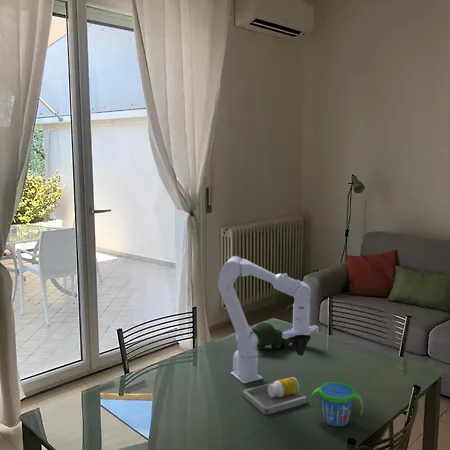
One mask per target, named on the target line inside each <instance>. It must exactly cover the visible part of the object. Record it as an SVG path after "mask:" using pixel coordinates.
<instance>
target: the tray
mask: <svg viewBox="0 0 450 450" xmlns="http://www.w3.org/2000/svg"><path fill="white" fill-rule="evenodd" d="M274 382H275V381H273V382H268V383H265V384H262V385H258V386H253V387H249V388H246V389H243V390H241V397H242V398H243V399H244V400H246V401H247V402H249V403H250V404H251V405H252V406H253V407H254V408H255V409H257V410H258V411H260V412H261V413H262V414H263V415H264V416H269V415H271V414H275V413H279V412H281V411H285V410H288V409H291V408H294V407H299V406H302V405H304V404H307V398H308V397H307V396H304V395H303V396H299V395H297V393H295V394H292V395H288V396H284V397H280V398H279V397H277V396H275V397H270V395H269V394H268V385H271V384H273V383H274Z"/></svg>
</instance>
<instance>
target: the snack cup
mask: <svg viewBox="0 0 450 450" xmlns="http://www.w3.org/2000/svg"><path fill="white" fill-rule="evenodd" d="M316 393H318V394H319V397H320V401H321V408H322V417H323V421H324V422H325V423H327V425H328V426H331V427H340V428H342V427H343V426H346V425H347V424H349V422H350V417H351V412H352V407H353V401H354V399H357V400H358V401H359V403H360V412H359V414H360V416H362V415H363V411H364V401H363V399H362V397H361V395H360V394H359V393H357V392H356V391H355V389H354V388H353V387H352V386H351V385H350V384H349V385H348V384H345V383H342V382H338V381H337V382H335V381H334V382H333V381H332V382H326V383H323V384H322V385H320V387H316V388H315V389H314V390H313V392H312V394H311V396H310V401H309V402H310V408H313V407H314V399H313V397H314V395H315V394H316Z"/></svg>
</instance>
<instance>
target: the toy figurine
mask: <svg viewBox="0 0 450 450" xmlns="http://www.w3.org/2000/svg"><path fill="white" fill-rule="evenodd" d="M291 310H292V311H293V304H290V305H288V306H287V307H286V309H285V311H286V312H288V311H291ZM291 328H293V324H292V326H291V327H290V329H291ZM252 331H253V332H254V333H255V334H256V335H257V337H258V344H257V346H256V348H257V349H258V350H260V351H263V350H264V349H265V348H266V347H267V346H270V345H271V346H273V348H274V349H275V350H279V349H280V348H281V347H284V349H285V350H286V349H289V347H290V344H292V345H294V346H295V344H294V342H293V340H292V338H291V337H289V338H288V339H284V338H282V332H285V331H286V330H280V329H278V328H275V327H274V326H273V325H272V324H271V323H270V322H269V323H268V322H265V321H264V322H260V323H258V324H257V325H256V326H255V327H253V328H252Z"/></svg>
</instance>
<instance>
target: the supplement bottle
mask: <svg viewBox="0 0 450 450" xmlns="http://www.w3.org/2000/svg"><path fill="white" fill-rule="evenodd" d="M273 382H274V383H273V384H271V385H268V394H269V395H270V397H275V396H277V397H279V398H280V397H284V396H288V395H292V394H297V393H299V391H300V384H299V382H298V379H297V378H296V377H294V376H291V377H287V378H283V379H278V380H275V381H273Z"/></svg>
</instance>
